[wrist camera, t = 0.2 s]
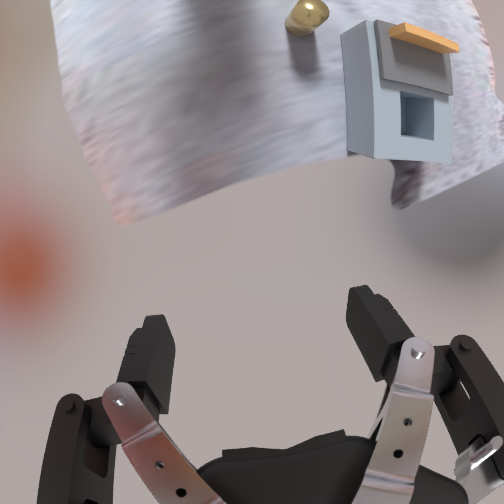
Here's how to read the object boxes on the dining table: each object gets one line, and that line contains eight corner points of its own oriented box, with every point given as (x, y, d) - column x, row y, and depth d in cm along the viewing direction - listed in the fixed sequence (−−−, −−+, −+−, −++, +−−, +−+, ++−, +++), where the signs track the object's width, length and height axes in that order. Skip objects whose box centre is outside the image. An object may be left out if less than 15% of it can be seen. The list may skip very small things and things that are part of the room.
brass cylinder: (283, 12, 26) (294, -5, 21) (311, 15, 26) (327, -1, 21) (286, 36, 28) (298, 21, 22) (314, 37, 28) (330, 24, 23)
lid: (373, 21, 21) (392, 12, 17) (444, 44, 21) (464, 41, 18) (380, 79, 24) (401, 76, 21) (449, 95, 25) (470, 97, 21)
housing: (340, 35, 28) (365, 20, 21) (416, 52, 29) (447, 46, 22) (347, 150, 36) (374, 158, 29) (419, 153, 37) (451, 163, 30)
